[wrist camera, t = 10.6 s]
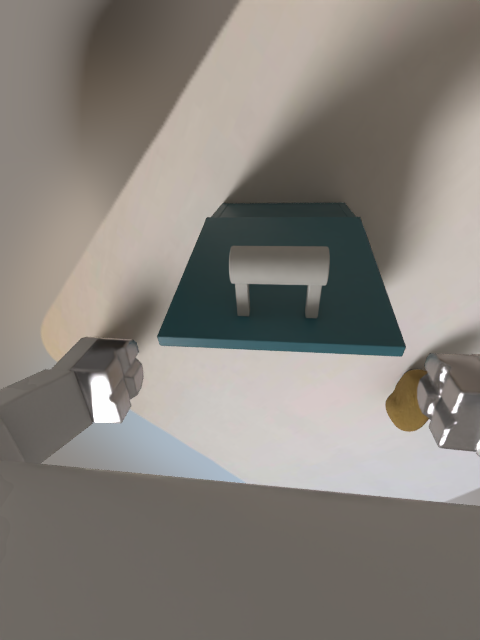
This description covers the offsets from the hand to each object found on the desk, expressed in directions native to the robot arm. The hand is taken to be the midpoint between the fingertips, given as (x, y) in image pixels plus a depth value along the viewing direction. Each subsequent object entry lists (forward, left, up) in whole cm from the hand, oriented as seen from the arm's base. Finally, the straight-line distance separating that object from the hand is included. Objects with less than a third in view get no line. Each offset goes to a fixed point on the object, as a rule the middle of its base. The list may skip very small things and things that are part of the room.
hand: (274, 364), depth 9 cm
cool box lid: (0, -3, -15) cm, 16 cm away
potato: (+18, -26, -31) cm, 44 cm away
